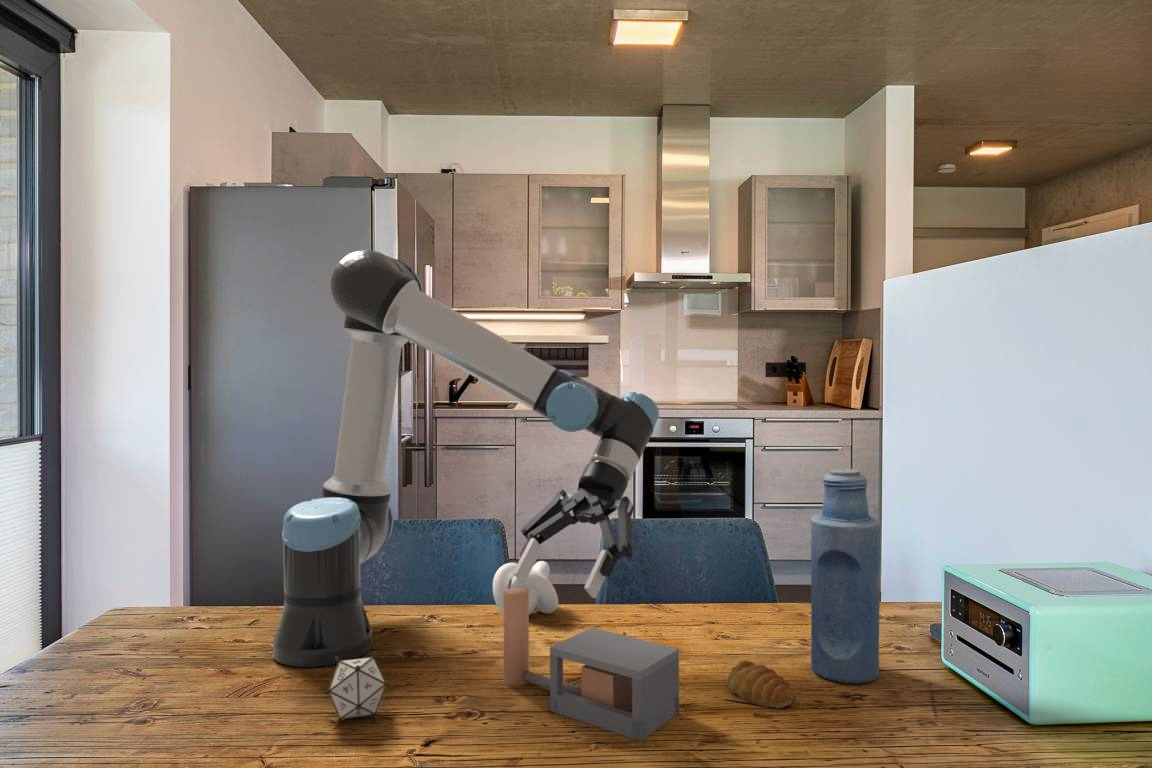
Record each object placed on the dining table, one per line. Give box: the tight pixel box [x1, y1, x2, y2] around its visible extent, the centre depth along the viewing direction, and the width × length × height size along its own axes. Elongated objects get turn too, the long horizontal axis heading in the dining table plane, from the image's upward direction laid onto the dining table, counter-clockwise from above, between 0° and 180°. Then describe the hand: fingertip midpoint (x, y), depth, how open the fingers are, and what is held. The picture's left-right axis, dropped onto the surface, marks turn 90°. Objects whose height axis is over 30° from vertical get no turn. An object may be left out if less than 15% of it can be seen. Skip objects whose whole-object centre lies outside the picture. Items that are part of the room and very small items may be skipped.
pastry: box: [726, 660, 795, 709], centre depth 108 cm, size 9×7×4 cm
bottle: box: [810, 468, 881, 685], centre depth 116 cm, size 10×10×30 cm
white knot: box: [492, 560, 559, 616], centre depth 145 cm, size 11×12×9 cm
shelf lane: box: [549, 627, 680, 742], centre depth 104 cm, size 14×9×8 cm
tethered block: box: [503, 588, 632, 712], centre depth 109 cm, size 20×5×13 cm, turn 53°
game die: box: [322, 650, 393, 727], centre depth 102 cm, size 9×8×10 cm
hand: (552, 585), depth 119 cm, fingers open, 13 cm apart
